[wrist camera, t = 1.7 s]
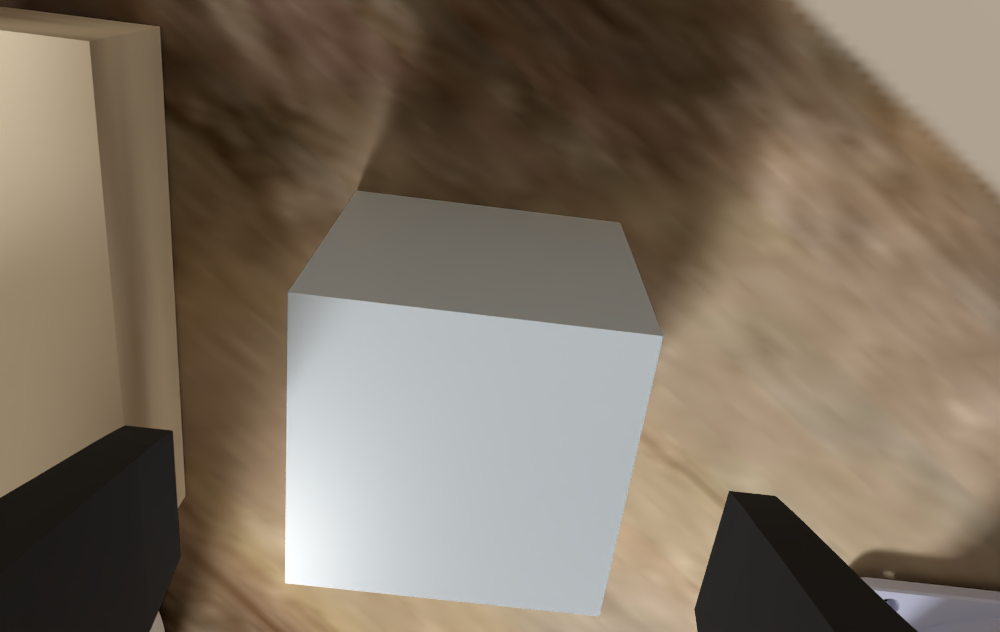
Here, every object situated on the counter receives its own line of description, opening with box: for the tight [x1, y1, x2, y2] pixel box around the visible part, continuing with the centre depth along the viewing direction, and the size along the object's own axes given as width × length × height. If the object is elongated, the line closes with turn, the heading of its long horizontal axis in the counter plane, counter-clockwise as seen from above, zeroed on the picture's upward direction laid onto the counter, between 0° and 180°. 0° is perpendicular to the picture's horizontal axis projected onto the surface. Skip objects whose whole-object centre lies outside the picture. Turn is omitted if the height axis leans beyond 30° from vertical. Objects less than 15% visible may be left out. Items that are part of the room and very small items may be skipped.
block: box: [285, 191, 663, 616], centre depth 14 cm, size 5×5×5 cm
